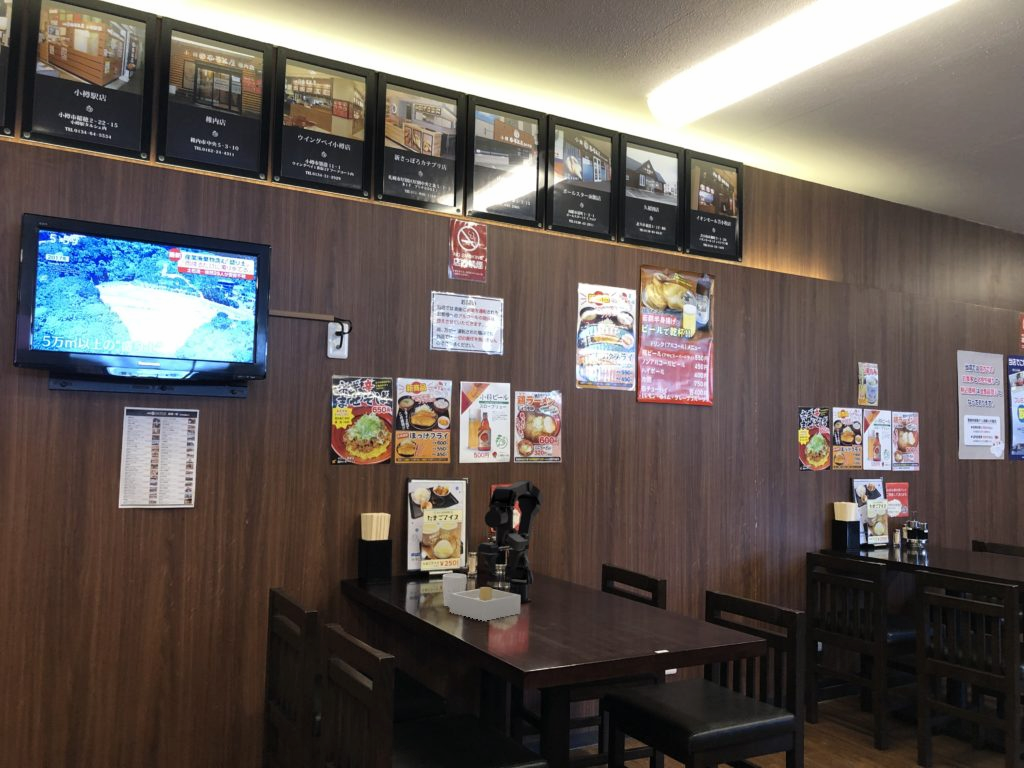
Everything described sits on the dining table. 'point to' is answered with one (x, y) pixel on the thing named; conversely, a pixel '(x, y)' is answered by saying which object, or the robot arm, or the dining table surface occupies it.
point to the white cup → (452, 585)
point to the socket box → (484, 604)
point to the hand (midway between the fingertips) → (503, 572)
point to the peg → (485, 593)
